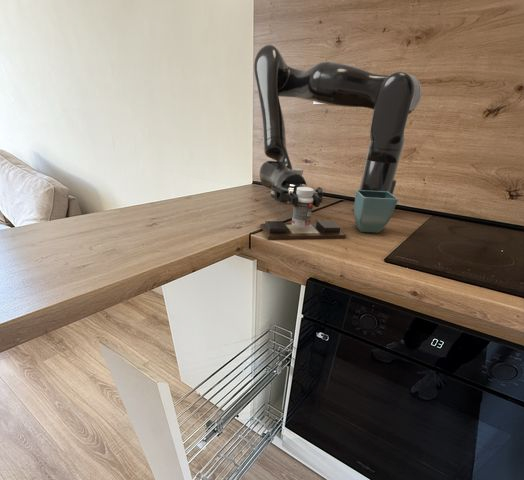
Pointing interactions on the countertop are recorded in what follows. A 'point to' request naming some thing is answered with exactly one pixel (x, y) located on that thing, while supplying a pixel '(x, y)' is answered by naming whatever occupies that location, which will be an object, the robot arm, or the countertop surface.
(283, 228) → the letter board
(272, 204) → the countertop surface
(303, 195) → the pill bottle
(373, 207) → the flower pot
